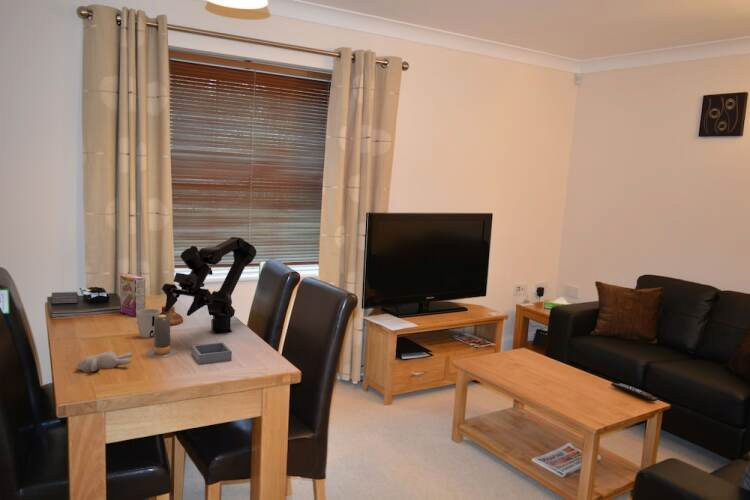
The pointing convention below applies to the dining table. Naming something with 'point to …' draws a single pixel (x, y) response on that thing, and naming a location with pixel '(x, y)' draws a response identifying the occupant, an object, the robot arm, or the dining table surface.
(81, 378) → the dining table surface
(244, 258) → the robot arm
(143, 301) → the candy bar box
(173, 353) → the pad
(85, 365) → the bunny figurine
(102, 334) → the dining table surface
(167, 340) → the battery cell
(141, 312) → the cup
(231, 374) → the dining table surface
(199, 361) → the dish
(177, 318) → the brown rounded piece
